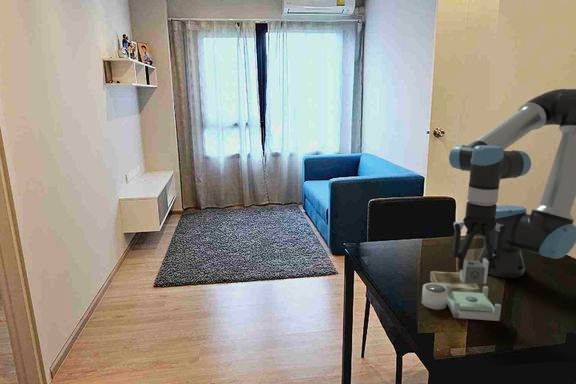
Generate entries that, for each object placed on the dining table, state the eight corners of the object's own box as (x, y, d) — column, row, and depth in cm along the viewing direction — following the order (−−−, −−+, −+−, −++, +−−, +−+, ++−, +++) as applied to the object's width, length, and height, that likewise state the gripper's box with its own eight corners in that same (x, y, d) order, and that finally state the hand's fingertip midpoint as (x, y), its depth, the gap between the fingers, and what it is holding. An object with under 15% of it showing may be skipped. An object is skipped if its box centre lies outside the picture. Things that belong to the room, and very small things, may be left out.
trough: (468, 282, 137) (469, 273, 136) (478, 298, 126) (479, 289, 125) (429, 279, 138) (430, 271, 138) (436, 295, 128) (437, 286, 127)
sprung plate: (482, 296, 123) (483, 292, 123) (492, 311, 114) (493, 307, 114) (451, 294, 124) (451, 290, 124) (458, 309, 116) (459, 305, 115)
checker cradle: (485, 300, 125) (487, 286, 124) (499, 320, 113) (501, 306, 112) (444, 297, 126) (445, 283, 125) (453, 317, 115) (455, 303, 114)
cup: (443, 298, 126) (444, 283, 124) (448, 310, 119) (450, 294, 118) (419, 297, 127) (421, 282, 125) (423, 308, 120) (425, 292, 119)
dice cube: (459, 275, 122) (461, 259, 121) (477, 276, 121) (479, 260, 120) (464, 282, 117) (466, 266, 116) (483, 283, 116) (485, 267, 115)
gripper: (511, 200, 115) (501, 277, 120) (444, 197, 117) (437, 273, 122) (522, 207, 107) (511, 288, 113) (450, 204, 110) (442, 284, 115)
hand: (472, 280), depth 118 cm, fingers closed on dice cube, 5 cm apart
